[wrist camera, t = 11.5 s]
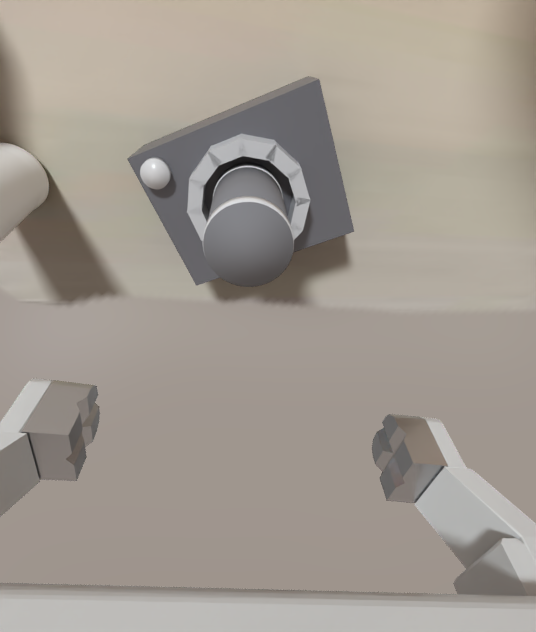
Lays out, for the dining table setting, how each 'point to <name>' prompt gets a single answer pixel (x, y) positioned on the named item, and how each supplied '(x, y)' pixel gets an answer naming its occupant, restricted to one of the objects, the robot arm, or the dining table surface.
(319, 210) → the camera body
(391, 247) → the dining table surface
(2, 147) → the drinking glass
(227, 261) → the lens
